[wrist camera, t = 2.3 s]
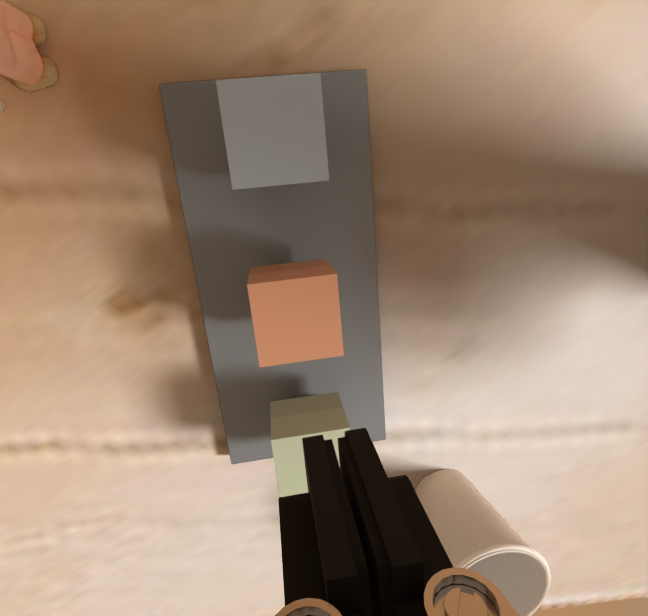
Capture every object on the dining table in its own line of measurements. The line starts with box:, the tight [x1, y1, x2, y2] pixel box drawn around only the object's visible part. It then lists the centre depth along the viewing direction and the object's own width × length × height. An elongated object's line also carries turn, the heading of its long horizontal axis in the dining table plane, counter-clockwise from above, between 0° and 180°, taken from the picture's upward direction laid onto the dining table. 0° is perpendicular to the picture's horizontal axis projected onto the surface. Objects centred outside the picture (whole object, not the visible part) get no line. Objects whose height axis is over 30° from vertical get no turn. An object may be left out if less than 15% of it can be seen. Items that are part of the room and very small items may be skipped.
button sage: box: [270, 392, 350, 497], centre depth 29 cm, size 5×5×5 cm
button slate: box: [216, 73, 329, 190], centre depth 23 cm, size 5×5×5 cm
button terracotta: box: [247, 259, 344, 367], centre depth 26 cm, size 5×5×5 cm
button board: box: [159, 69, 386, 464], centre depth 30 cm, size 13×28×3 cm, turn 6°
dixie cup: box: [415, 469, 550, 616], centre depth 34 cm, size 8×8×10 cm
